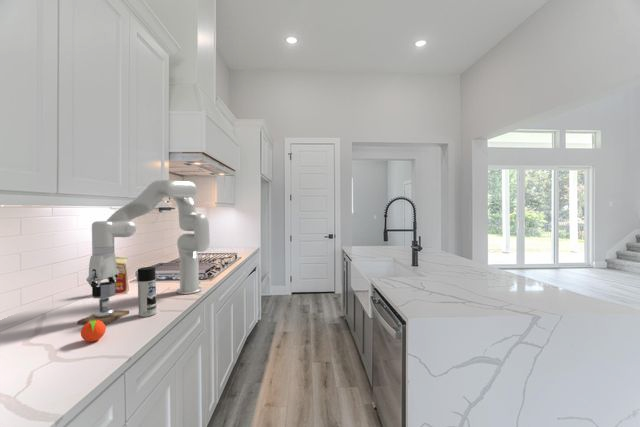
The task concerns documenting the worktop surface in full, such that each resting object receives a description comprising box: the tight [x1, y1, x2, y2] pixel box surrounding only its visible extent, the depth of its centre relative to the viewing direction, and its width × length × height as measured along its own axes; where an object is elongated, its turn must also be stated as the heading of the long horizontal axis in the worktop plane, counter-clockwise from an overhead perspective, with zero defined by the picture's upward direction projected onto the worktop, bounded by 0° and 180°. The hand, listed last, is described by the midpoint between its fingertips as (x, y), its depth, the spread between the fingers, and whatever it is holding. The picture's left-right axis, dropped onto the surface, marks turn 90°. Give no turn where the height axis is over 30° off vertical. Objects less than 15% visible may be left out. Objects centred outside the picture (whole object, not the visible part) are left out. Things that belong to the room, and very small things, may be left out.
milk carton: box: [114, 255, 130, 296], centre depth 166 cm, size 9×9×20 cm
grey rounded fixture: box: [94, 297, 115, 318], centre depth 127 cm, size 7×7×7 cm
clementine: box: [80, 320, 107, 343], centre depth 105 cm, size 8×7×7 cm
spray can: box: [137, 266, 157, 318], centre depth 131 cm, size 7×7×20 cm
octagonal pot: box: [92, 281, 116, 300], centre depth 127 cm, size 7×7×5 cm
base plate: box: [76, 309, 130, 326], centre depth 127 cm, size 13×12×1 cm
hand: (104, 293), depth 127 cm, fingers closed on octagonal pot, 7 cm apart
